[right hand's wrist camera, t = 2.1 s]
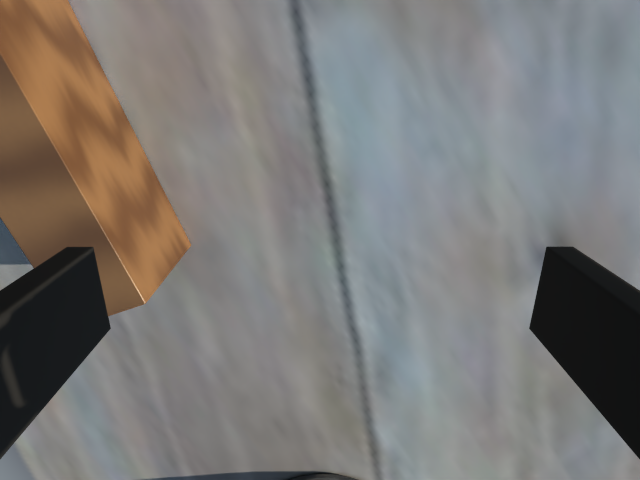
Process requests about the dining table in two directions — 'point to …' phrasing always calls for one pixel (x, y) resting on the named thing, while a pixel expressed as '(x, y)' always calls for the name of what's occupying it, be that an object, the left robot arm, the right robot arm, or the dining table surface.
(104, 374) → the dining table surface
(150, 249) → the board
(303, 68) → the dining table surface
